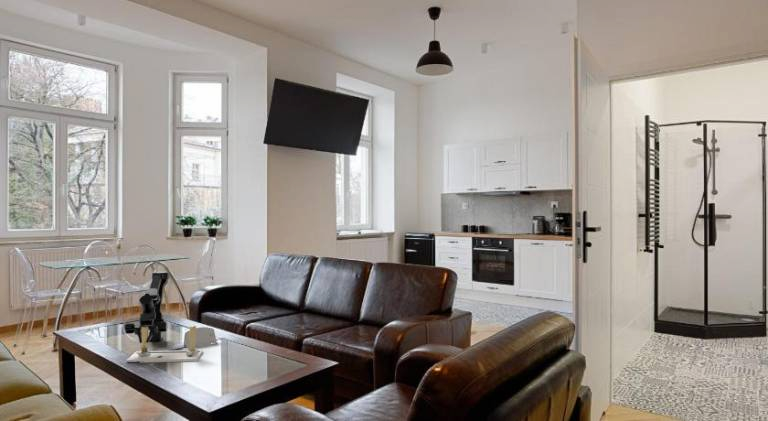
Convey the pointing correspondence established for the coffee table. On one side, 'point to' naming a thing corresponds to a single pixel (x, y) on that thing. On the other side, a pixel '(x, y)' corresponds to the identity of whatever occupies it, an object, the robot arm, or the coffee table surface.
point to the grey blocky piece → (201, 336)
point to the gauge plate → (172, 352)
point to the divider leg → (144, 342)
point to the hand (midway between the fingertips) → (143, 342)
